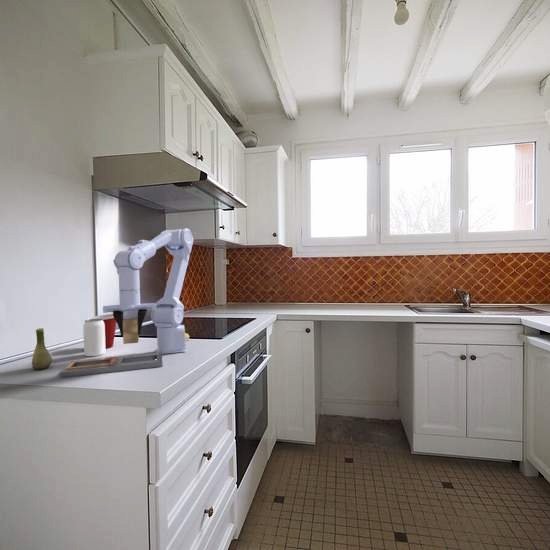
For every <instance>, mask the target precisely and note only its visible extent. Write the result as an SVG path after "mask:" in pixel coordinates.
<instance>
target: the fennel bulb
mask: <svg viewBox="0 0 550 550" xmlns="http://www.w3.org/2000/svg"><path fill="white" fill-rule="evenodd" d="M44 332H45V331H44V328H43V327H41V328H37V329H36V330H35V333H36V344H35V347H34V351H33V354H32V358H31V368H32V369H33V370H40V369H41V370H44V369H47V368H48V367H50V366H51V365H52V362H53V358H52V356H51V354H50V352H49V350H48V349H47V347H46V345H45V344H46V343H45V333H44Z"/></svg>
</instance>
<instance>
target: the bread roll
mask: <svg viewBox="0 0 550 550" xmlns="http://www.w3.org/2000/svg"><path fill="white" fill-rule="evenodd" d="M186 340H187V341H189V340H190V335H189V334H188V333H186V332H185V341H186ZM187 341H186V342H187Z"/></svg>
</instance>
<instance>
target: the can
mask: <svg viewBox="0 0 550 550" xmlns="http://www.w3.org/2000/svg"><path fill="white" fill-rule="evenodd" d="M82 328H83V332H82V333H83V353H84V356H85V357H86V356H87V357H88V358H92V357H91V356H94V357H99V355H100V356H102V355H105V353H106V352H107V351H106V349H107V348H106V349H105V324H104V322H103V319H89V320H87V319H85V320H84V323H83V325H82Z"/></svg>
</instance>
